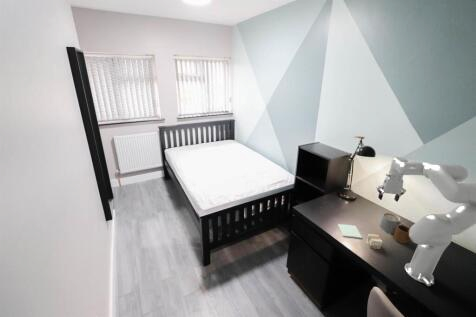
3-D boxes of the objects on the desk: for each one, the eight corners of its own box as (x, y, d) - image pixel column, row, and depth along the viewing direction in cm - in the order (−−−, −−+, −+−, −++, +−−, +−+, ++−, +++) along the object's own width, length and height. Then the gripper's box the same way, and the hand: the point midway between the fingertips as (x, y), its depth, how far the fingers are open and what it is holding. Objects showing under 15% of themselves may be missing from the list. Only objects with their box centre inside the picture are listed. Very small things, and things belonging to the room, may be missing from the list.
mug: (416, 247, 138) (421, 235, 135) (408, 250, 136) (413, 238, 132) (398, 234, 149) (402, 223, 145) (390, 237, 146) (394, 225, 143)
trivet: (361, 238, 145) (361, 237, 144) (342, 236, 146) (342, 235, 146) (355, 226, 156) (355, 225, 155) (337, 224, 157) (337, 223, 157)
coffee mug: (377, 228, 155) (381, 216, 151) (382, 222, 161) (385, 210, 158) (400, 238, 146) (404, 225, 142) (403, 231, 152) (408, 219, 149)
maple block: (379, 249, 136) (382, 241, 134) (369, 247, 137) (372, 240, 135) (375, 242, 142) (378, 234, 140) (365, 241, 143) (368, 233, 140)
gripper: (383, 177, 135) (376, 201, 142) (413, 180, 133) (405, 204, 139) (377, 172, 142) (371, 195, 148) (407, 175, 140) (399, 198, 146)
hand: (387, 199), depth 144 cm, fingers open, 9 cm apart
